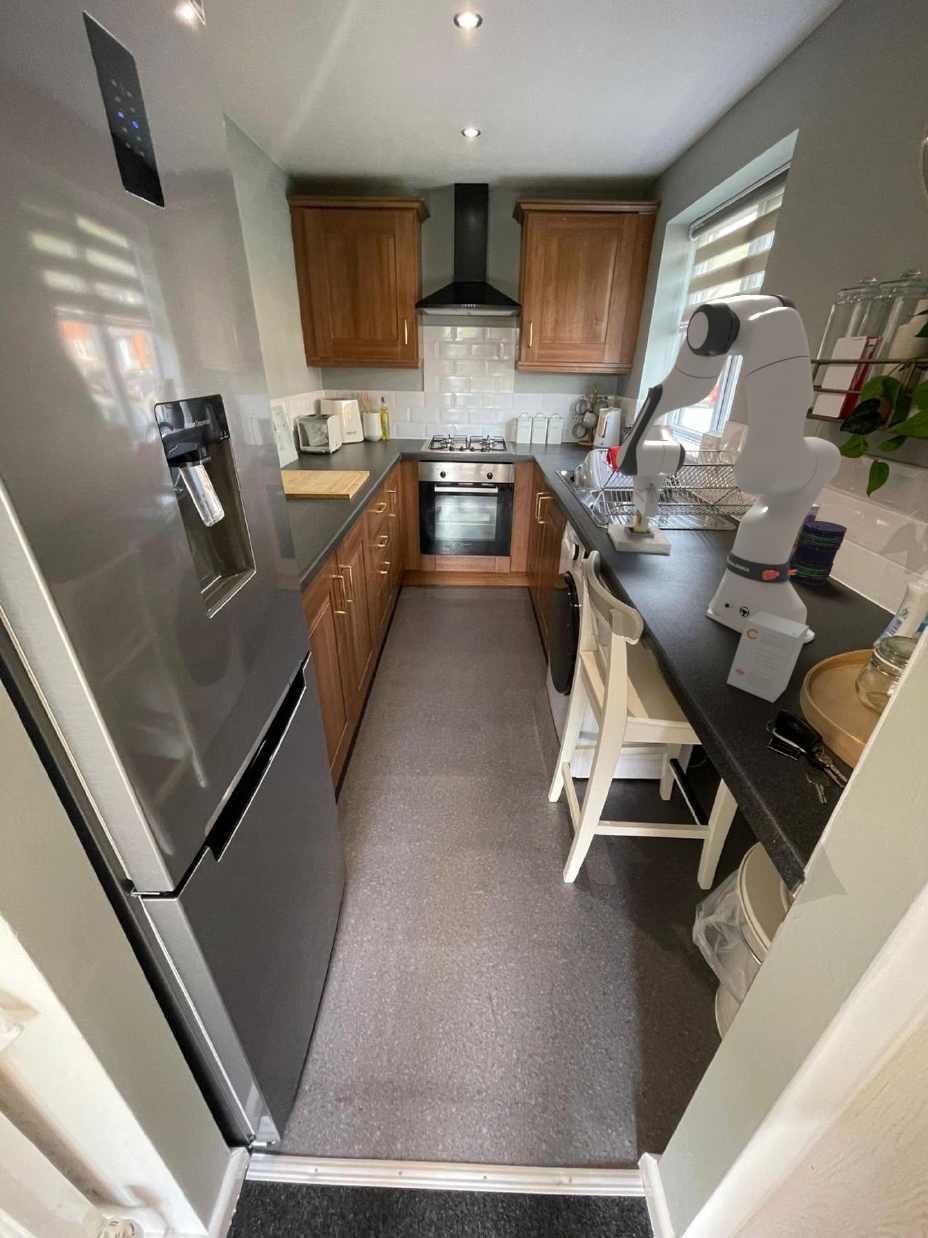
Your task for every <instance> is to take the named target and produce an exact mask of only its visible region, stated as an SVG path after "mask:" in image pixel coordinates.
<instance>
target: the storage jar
mask: <svg viewBox="0 0 928 1238" xmlns="http://www.w3.org/2000/svg"><path fill="white" fill-rule="evenodd" d="M847 530H848V528H847V527H845V526H844V525H841V524H838V523H833V522H829V521H825V520H824V521H823V520H815V521H805V522H804V524H803V527H802V529H801V531H800V534H799V538H798V541H797V543H798V544H797V547H796V550H795V552H794V555H793V556H792V558H791V561H790V563H789V564H790V570H797V571H796V572H792V573H795V574H796V575H790V579H791V580H793V581H795V582H798V583H802V584H805V585H815V586H816V585H817V586H820V585H825V584H826V583H827V581H828V580H827V579H828V578H829V576H830V575H831V572H832V568H833V567H834V566H833V565H834V560H835V558H836V555H837V553H838V551H840V548H841V545H842V543H843V541H844V537H845V535H846V534H845V533H846V532H847ZM790 579H789V580H790Z"/></svg>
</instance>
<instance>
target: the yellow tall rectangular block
mask: <svg viewBox="0 0 928 1238" xmlns="http://www.w3.org/2000/svg"><path fill="white" fill-rule="evenodd" d="M641 519H642V514H636V513H634V514H633V519H632V524H631V525H632V530H631V533H643V534H647V529H648V526H649V523H650V519H651V518H649V520H648V522H647V526H646V528H641V527H640V521H641Z"/></svg>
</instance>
